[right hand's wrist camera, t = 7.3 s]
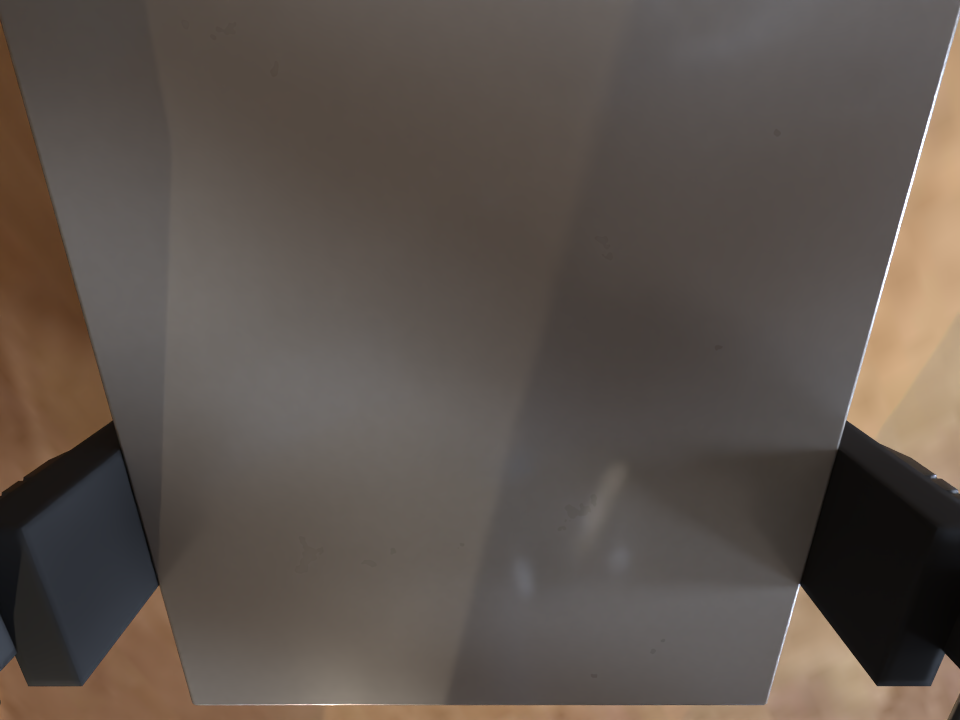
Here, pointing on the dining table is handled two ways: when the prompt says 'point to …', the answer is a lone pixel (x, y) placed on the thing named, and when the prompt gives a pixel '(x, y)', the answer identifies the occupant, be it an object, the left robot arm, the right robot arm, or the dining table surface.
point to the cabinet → (479, 322)
